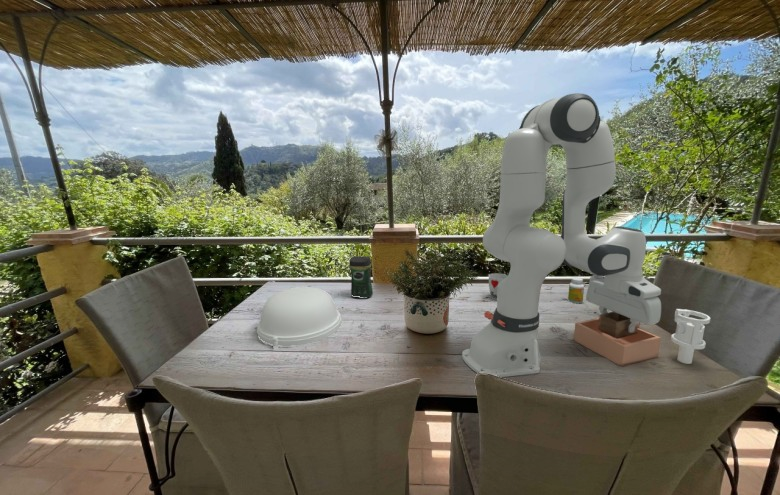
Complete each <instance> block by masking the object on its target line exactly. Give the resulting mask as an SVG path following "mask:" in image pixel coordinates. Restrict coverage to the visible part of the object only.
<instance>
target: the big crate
mask: <svg viewBox="0 0 780 495" xmlns="http://www.w3.org/2000/svg"><path fill="white" fill-rule="evenodd" d="M598 325H599V317H597V318H591V319H587V320H582V321H577V322H575V323H574V335H573V342H576V343H578V344H579V345H582V346H584V347H585V348H587V349H589V350H591V351H593V352H594V353H596V354H598V355H600V356H601V357H604V358H605V359H608V360H609V361H612V362H613V363H615V364H616V365H618V366H620V367H626V366H630V365H633V364H636V363H640V362H643V361H647V360H651V359H653V358H658V357H659V352H660V345H661V338H662V337H661V336H658V335H657V334H653V333H651V332H648V331H646V330H644V329H641V328H640V327H638V328H637V334H633V335H630V336H626V337H622V338H618V339H616V338H614V337H612V336H610V335H608V334H605V333H603V332H601V331H599V330H598Z"/></svg>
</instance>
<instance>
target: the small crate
mask: <svg viewBox="0 0 780 495" xmlns="http://www.w3.org/2000/svg"><path fill="white" fill-rule="evenodd" d="M598 318H599V325H598V330H599V331H601V332H603V333H605V334H608V335H610V336H612V337H614V338H616V339H618V338H622V337H626V336H630V335H633V334H637V328H639V327H638V325H637V326H635V331H634V332H632V333H630V332H628V331H626V330H625V329H626V325H629V324H631V323H632V322H630V318H628V317H626V316H623V315H621V314H618V313H616V312H613V311H610V312H608V313H605V314H601V313H600V314H599V316H598Z"/></svg>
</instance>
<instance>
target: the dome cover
mask: <svg viewBox="0 0 780 495" xmlns="http://www.w3.org/2000/svg"><path fill="white" fill-rule="evenodd" d="M341 323H342V324H343V320H342V315H341V313H340V311H339V310H338V309H337V305H336V303H335V300H334V299H333V296H331V295H330V294H329V293H328V292H327V291H325V290H324V289H321V288H319V287H315V286H297V287H296V286H295V287H291V288H287V289H283V290H280V291H278V292H276V293H274V294H273V295H272V296H270V297H269V298H268V299H267V300H266V302H264V305H263V307H262V310H261V314H260V320H259V321H258V324H257V328H256V334H258V336H259V337H260V339H262V340H263V341H265V342H267V343H270V344H273V346H278V345H282V346H291V345H301V344H307V343H312V342H315V341H319V340H321V339H324V338H326V337H328V336H330V335H332V334H333V333H335V332H336V331H337V330H338V329H339V327H340V326H341ZM341 327H342V326H341ZM258 336H257V337H258Z"/></svg>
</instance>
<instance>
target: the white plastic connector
mask: <svg viewBox="0 0 780 495" xmlns="http://www.w3.org/2000/svg"><path fill="white" fill-rule="evenodd" d="M690 316H694V317H695V316H696V317H699V318H701V319H697V318H694V317H690ZM673 320H674V322H675V323H676V328H675V333H672V334H671V337H670V341H671V342H672V343H674V344H676V345H677V346H679V347H678V352H677V354H678V355H677V358H676V359H677V361H678V362H680V363H682V364H686V365H687V364H688V365H690V364H692V363H693V356H694V353H695V350H704V349H705V348H706V344H707V343H706V341H705V340H704V339H703V338H704V333H705V327H706V326H705V325H708V324H710V323H711V316H709V315H708V314H706V313H703V312H700V311H695V310H691V309H686V308H685V309H682V308H676V309H675V312H674V319H673Z"/></svg>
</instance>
